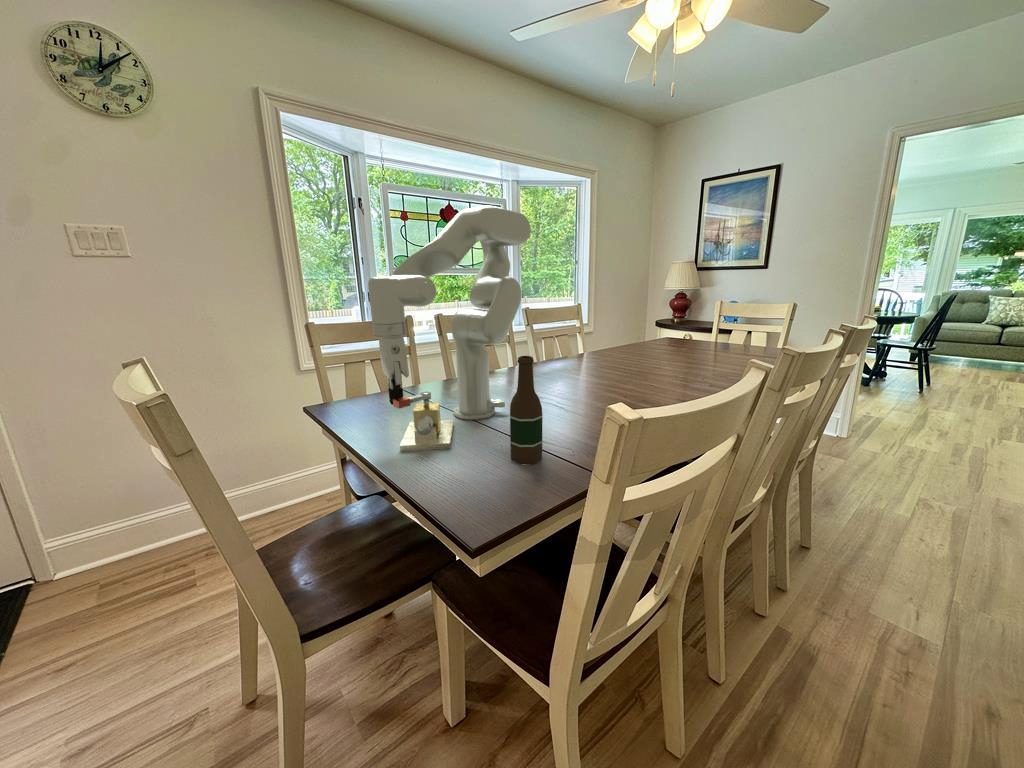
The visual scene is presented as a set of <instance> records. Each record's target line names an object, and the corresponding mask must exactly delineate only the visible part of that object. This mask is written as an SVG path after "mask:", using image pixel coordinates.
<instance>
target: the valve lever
mask: <svg viewBox="0 0 1024 768" xmlns="http://www.w3.org/2000/svg"><path fill="white" fill-rule="evenodd" d="M431 399H432V392H431V391H422V392H420V393H419V394H416V395H413V396H409V397H408V396H405V395H403V397H400V398H396V399H393V405H392V406H393V407H394V408H397V409H403V408H406V407H407V408H408V407H410V406H411V405H412V404H413V403H417V402H420V401H423V400H429V401H430V400H431Z"/></svg>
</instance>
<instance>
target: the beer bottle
mask: <svg viewBox="0 0 1024 768" xmlns="http://www.w3.org/2000/svg"><path fill="white" fill-rule="evenodd" d="M516 362H517V364H518V374H517V387H516V392H515V393H514V395H513V396H512V398H511V400H510V401H511V402H510V405H509V433H510V434H509V437H510V439H509V440H510V460H511V461H512V462H513V461H514V462H513V463H517V464H518V463H519V464H518V465H520V464H530V465H535V464H537V463H538V461H539V462H540V460H541V461H542V458H543V408H542V407H543V406H542V403H541V400H540V397H539V396H538V394H537V393H536V390H535V382H534V366H533V365H534V363H535V361H534V357H533V356H531V355H521V356H518V357H517V361H516ZM536 462H537V463H536ZM534 463H535V464H534Z"/></svg>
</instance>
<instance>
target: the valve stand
mask: <svg viewBox="0 0 1024 768" xmlns="http://www.w3.org/2000/svg"><path fill="white" fill-rule="evenodd" d="M422 401H423V402H418V403H417V402H415V403H416V404H415V406H414V408H413V410H412V411H413V413H412V414H413V421H409V424H408V426H407V428H406V431H405V433H404V435H403V437H402V440H401V442H400V444H399V449H400V452H410V451H411V452H414V451H429V450H431V451H432V450H450V449H451V446H452V439H451V438H453V432H452V431H453V430H454V419H444V420H443V419H441V407H440V402H439V401H438V402H433V401H430V399H429V400H422ZM450 445H451V446H450Z"/></svg>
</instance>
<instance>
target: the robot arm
mask: <svg viewBox="0 0 1024 768" xmlns="http://www.w3.org/2000/svg"><path fill="white" fill-rule="evenodd" d="M531 227H532V226H531V224H530V221H529V219H528V217H527V216H526V215H525V214H523V213H522V212H519V211H515V210H511V209H507V208H503V207H498V206H493V205H482V206H475V207H470V208H468V207H467V208H464V209H462V210H460V211H459V212H458V213H456V215H454V216H453V218H452V219H451V220H450V221H449V222H448V223H447V225H446V226H445V227H444V228H443V229H442V231H440V232H439V234H438V235H437V236H436V237H435V238H434V239H433V240H432V241H430V242H429V243H427V244H426V245H424V246H423V247H422V248H420V249H419V250H417V251H415V252H414V253H412V254H411V255H410V256H408V257H406V259H404V260H403V261H402V262H401V263H400V264H398V266H397V267H396V268H395V269H394V270H393V272H392V273H391V274H390V275H389V276H372V277H370V278H368V282H367V287H368V298H369V306H370V316H371V323H372V332H373V333H372V334H373V338H374V339H378V345H379V346H378V347H379V356H380V363H381V364H380V365H381V369H382V372H383V374H384V375H385V377H387V378H386V379H387V383H388V384H387V385H388V399H389V403H390V405H392V406H393V399H396V398H400V397H404V389H403V378H402V377H405V379H406V378H409V376H410V372H409V371H410V370H409V364H408V356H407V349H406V343H405V339H404V337H406V336H407V328H406V327H407V326H406V315H405V313H406V312H405V307H416V308H418V307H419V308H422V307H426V306H428V305H430V304H432V303H433V301H434V300H435V299H436V297H437V287H436V284H435V282H434V281H433V280H432V279H431V277H432V276H435V275H438V274H441V273H443V272H446V271H449V270H451V269H453V268H455V267H457V266H458V265H459V264H460V263H461V261H463V259H464V258H465V256H467V254H468V253H469V252H470V250H472V248H473V247H474V246H475V245H476V243H479V242H480V245H481V249H482V254H483V257H482V258H483V260H482V263H481V266H480V268H479V270H478V273H477V274H476V277H475V279H474V280H473V281H474V282H473V284H472V285H471V288H470V292H469V300H470V301H469V302H470V304H472V306H474V307H475V308H463V309H461V310H458V311H457V312H455V313H454V315H453V316H452V319H451V321H450V331H451V335H452V338H453V342H454V349H455V357H456V362H455V363H456V378H457V380H456V381H457V396H458V397H457V399H458V406H456V407H455V408H454V409H453V415H454V416H455V417H456V418H459V419H462V420H469V421H474V420H475V421H477V420H482V419H486V418H489V417H492V416H493V415H494V414H495V413H496V408H505V407H506V402H505V401H504V400H501V399H494V398H493V399H492V398H491V395H490V366H489V365H490V364H489V363H490V362H489V353H488V349H487V347H486V345H490V346H496V345H499V344H502V342H504V341H505V339H506V337H507V336H508V334H509V331H510V330H511V328H512V325H513V322H514V320H515V317H516V315H517V313H518V310H519V307H520V304H521V301H522V288H521V285H520V283H519V281H518V280H516V279H515V278H514V277H512V276H511V277H510V276H509V273H510V271H511V263H510V259H509V256H508V254H507V252H506V248H505V247H511V246H512V247H514V246H521V245H523V244H526V243H527V241H528V240H529V239H530V236H531V232H532V231H531ZM402 375H403V376H402Z"/></svg>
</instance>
